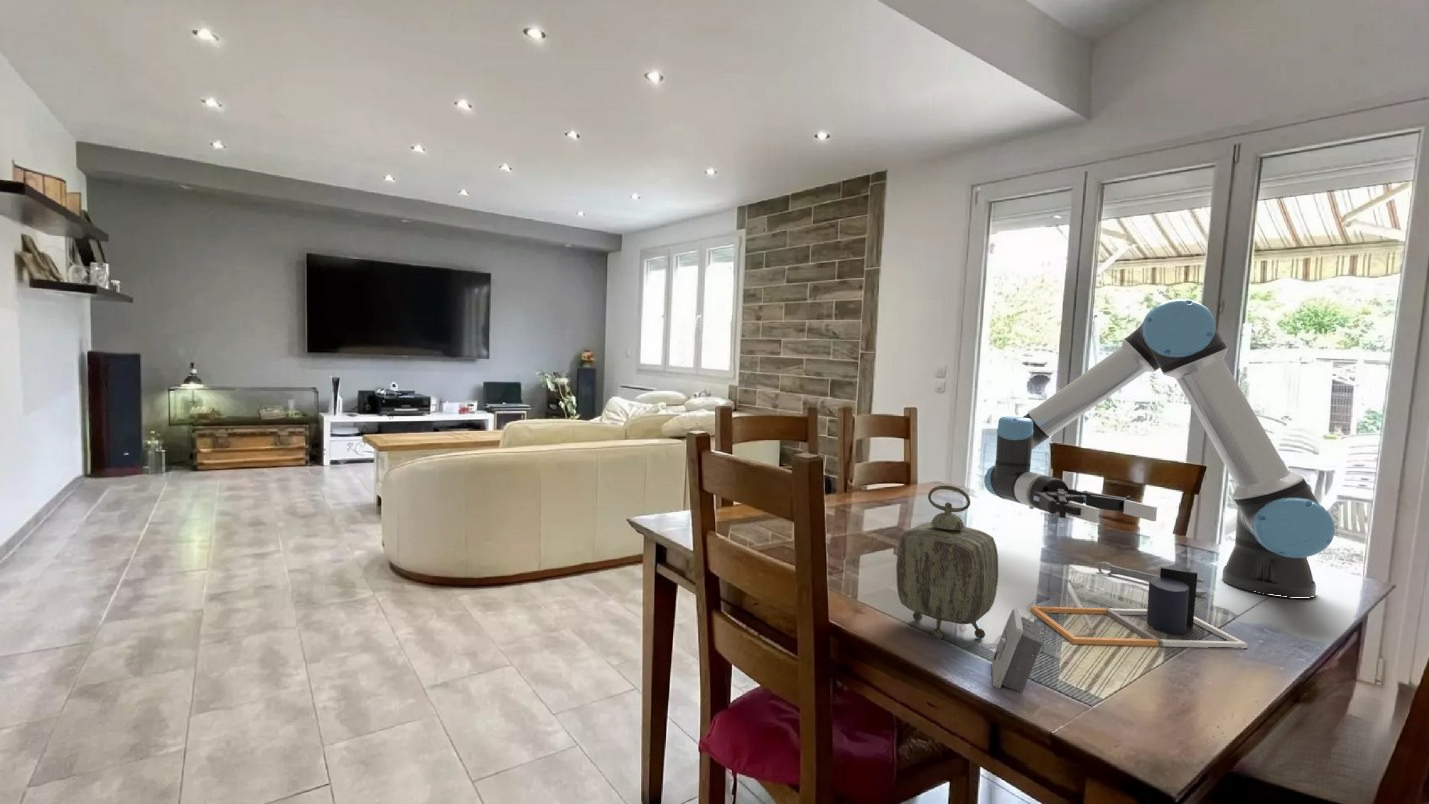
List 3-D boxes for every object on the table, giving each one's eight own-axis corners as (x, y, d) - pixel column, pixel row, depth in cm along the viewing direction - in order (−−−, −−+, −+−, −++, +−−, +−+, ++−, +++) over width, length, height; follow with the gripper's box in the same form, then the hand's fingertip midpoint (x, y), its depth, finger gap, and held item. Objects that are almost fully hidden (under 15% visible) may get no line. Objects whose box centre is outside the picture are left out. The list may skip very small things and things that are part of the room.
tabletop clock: (995, 639, 107) (1003, 489, 106) (976, 656, 100) (984, 496, 99) (911, 615, 117) (917, 477, 115) (889, 630, 110) (895, 483, 108)
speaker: (1156, 615, 119) (1161, 562, 118) (1193, 628, 115) (1199, 572, 113) (1139, 629, 115) (1144, 573, 113) (1177, 642, 110) (1183, 584, 109)
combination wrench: (1097, 559, 146) (1206, 581, 130) (1099, 558, 146) (1208, 580, 131) (1097, 575, 146) (1205, 599, 130) (1099, 574, 147) (1207, 598, 131)
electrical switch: (991, 662, 99) (1000, 603, 98) (1028, 672, 97) (1038, 612, 96) (992, 690, 90) (1002, 626, 89) (1033, 702, 88) (1044, 636, 87)
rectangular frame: (1182, 614, 121) (1182, 610, 121) (1246, 648, 106) (1247, 643, 106) (1030, 610, 121) (1030, 606, 121) (1073, 643, 106) (1073, 639, 106)
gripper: (1087, 508, 146) (1176, 532, 126) (992, 510, 140) (1070, 536, 119) (1089, 475, 146) (1179, 494, 125) (995, 475, 139) (1073, 496, 119)
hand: (1126, 515), depth 122 cm, fingers open, 13 cm apart
